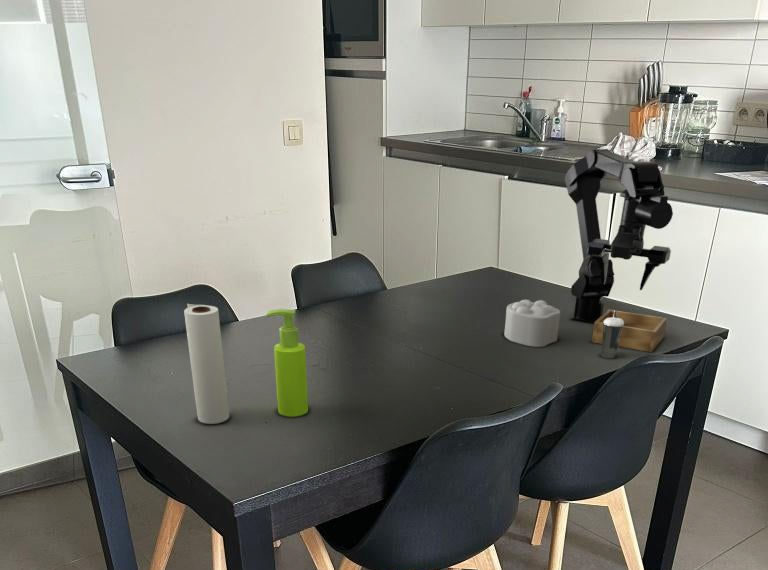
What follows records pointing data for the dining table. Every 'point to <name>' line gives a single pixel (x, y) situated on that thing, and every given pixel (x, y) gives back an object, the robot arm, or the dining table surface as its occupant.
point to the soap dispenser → (290, 368)
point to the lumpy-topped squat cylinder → (532, 323)
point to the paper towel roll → (207, 363)
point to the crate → (634, 330)
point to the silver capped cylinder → (611, 336)
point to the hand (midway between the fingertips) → (622, 287)
